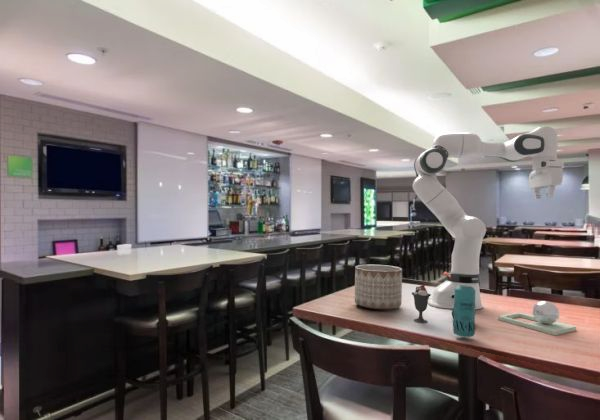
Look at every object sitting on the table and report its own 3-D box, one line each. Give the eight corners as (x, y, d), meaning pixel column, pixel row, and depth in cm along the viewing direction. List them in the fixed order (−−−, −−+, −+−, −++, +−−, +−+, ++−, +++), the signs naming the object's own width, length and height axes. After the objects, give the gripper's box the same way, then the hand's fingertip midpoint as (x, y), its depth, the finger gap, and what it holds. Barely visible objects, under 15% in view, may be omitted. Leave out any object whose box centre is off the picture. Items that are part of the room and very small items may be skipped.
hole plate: (576, 330, 129) (576, 326, 129) (554, 335, 123) (554, 331, 123) (519, 315, 146) (519, 312, 146) (498, 319, 140) (498, 316, 140)
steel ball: (539, 326, 128) (539, 303, 128) (528, 319, 136) (528, 298, 136) (564, 327, 127) (564, 304, 127) (551, 321, 135) (551, 299, 135)
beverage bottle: (448, 335, 121) (449, 273, 121) (468, 335, 121) (469, 273, 121) (459, 342, 114) (460, 277, 114) (479, 341, 115) (480, 277, 115)
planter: (355, 300, 168) (356, 263, 168) (399, 302, 164) (400, 265, 164) (353, 310, 149) (353, 269, 149) (402, 314, 145) (403, 272, 145)
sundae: (428, 325, 131) (428, 282, 131) (409, 321, 135) (409, 280, 135) (432, 320, 137) (433, 280, 137) (413, 317, 140) (414, 278, 140)
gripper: (524, 168, 168) (523, 199, 168) (549, 161, 148) (548, 195, 147) (539, 169, 167) (538, 199, 167) (566, 161, 147) (565, 196, 147)
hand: (543, 198), depth 157 cm, fingers open, 8 cm apart
